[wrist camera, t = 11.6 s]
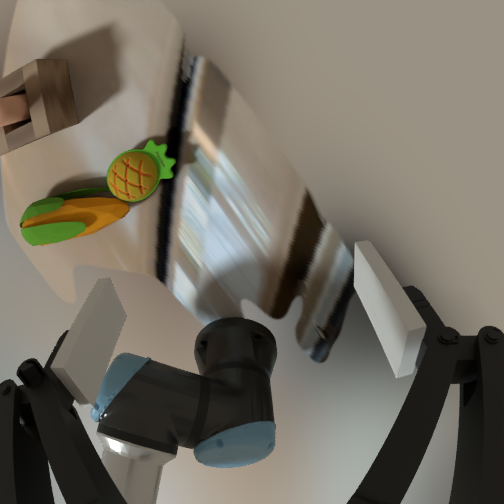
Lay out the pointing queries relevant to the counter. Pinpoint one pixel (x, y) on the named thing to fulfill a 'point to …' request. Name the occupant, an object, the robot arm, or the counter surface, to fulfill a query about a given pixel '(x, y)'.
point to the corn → (70, 216)
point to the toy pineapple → (139, 172)
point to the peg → (14, 109)
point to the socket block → (39, 102)
